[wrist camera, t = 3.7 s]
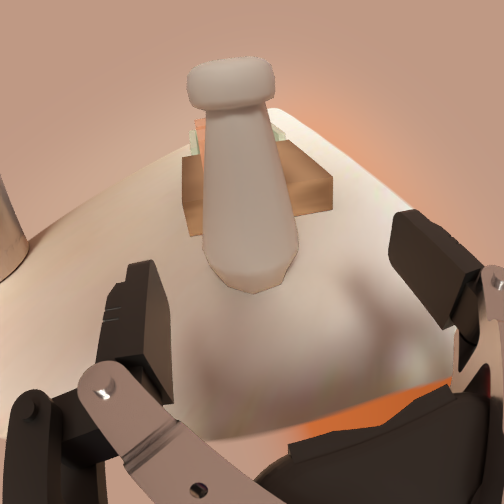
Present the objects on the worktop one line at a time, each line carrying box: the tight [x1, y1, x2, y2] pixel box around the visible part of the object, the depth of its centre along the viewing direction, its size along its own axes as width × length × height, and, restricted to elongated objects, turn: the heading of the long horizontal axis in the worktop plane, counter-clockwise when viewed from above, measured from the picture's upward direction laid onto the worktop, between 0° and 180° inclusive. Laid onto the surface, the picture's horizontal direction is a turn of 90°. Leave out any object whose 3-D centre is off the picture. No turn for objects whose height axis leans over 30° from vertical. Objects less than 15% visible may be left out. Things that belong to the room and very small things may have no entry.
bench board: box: [182, 140, 333, 237], centre depth 30 cm, size 12×12×3 cm
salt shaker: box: [187, 57, 299, 294], centre depth 17 cm, size 6×6×13 cm
